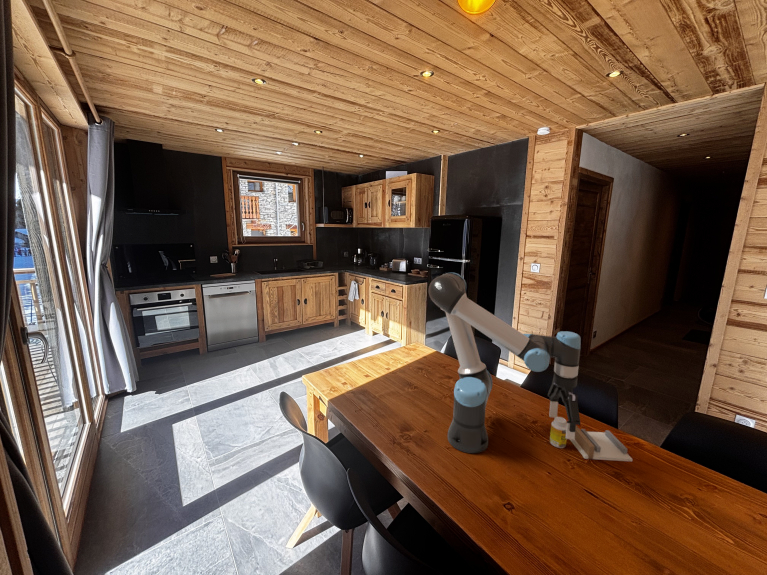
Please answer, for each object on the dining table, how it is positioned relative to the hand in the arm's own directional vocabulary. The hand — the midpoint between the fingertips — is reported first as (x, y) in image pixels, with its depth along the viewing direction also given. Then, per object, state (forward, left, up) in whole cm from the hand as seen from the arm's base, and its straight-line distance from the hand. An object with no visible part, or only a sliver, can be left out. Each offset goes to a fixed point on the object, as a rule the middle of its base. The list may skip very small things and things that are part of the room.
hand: (560, 427), depth 119 cm
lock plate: (+14, 0, -7) cm, 15 cm away
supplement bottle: (0, 0, -7) cm, 7 cm away
